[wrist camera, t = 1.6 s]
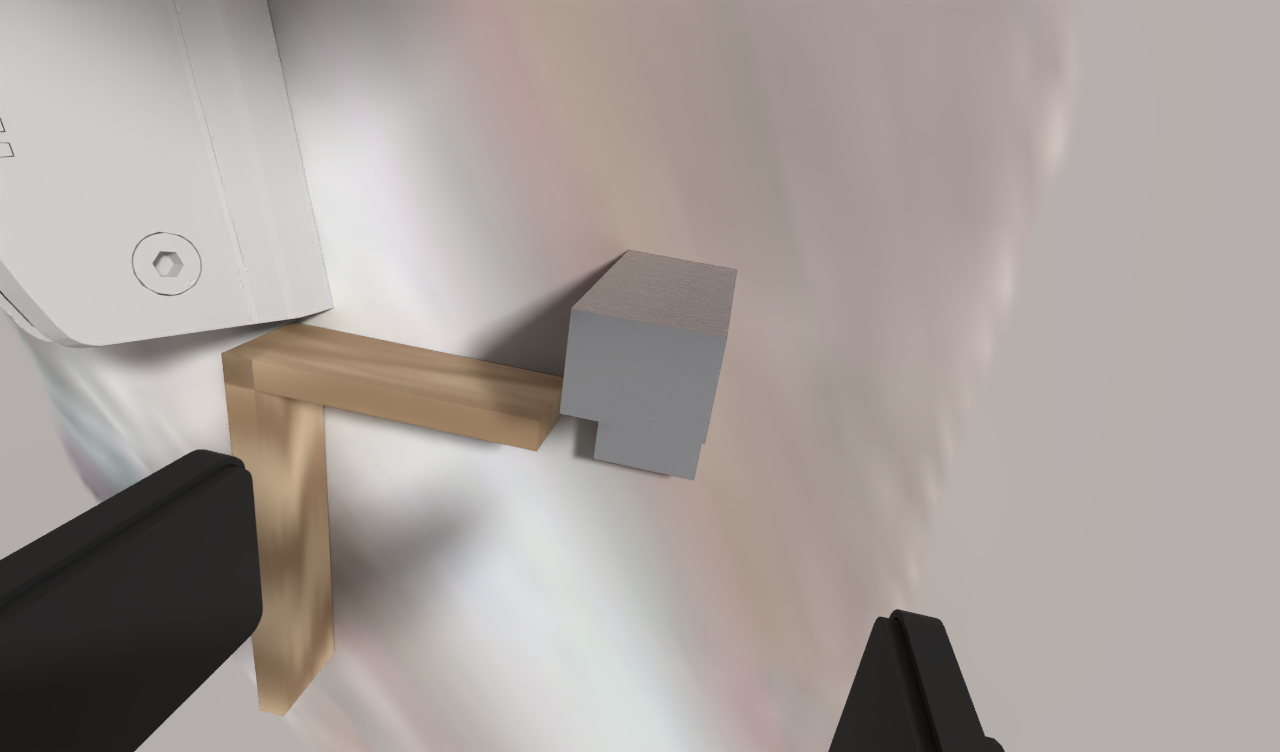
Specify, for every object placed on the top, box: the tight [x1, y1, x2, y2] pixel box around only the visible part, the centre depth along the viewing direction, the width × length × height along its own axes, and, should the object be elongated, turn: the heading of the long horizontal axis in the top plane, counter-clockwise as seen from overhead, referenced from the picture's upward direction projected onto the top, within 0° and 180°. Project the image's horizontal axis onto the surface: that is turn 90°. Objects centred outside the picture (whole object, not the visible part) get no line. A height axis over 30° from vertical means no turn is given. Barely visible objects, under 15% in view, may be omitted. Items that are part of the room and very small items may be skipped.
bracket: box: [560, 250, 737, 480], centre depth 22 cm, size 8×4×8 cm, turn 171°
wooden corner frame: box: [221, 322, 564, 716], centre depth 29 cm, size 18×12×4 cm, turn 171°
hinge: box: [0, 0, 334, 348], centre depth 21 cm, size 17×5×10 cm, turn 2°
